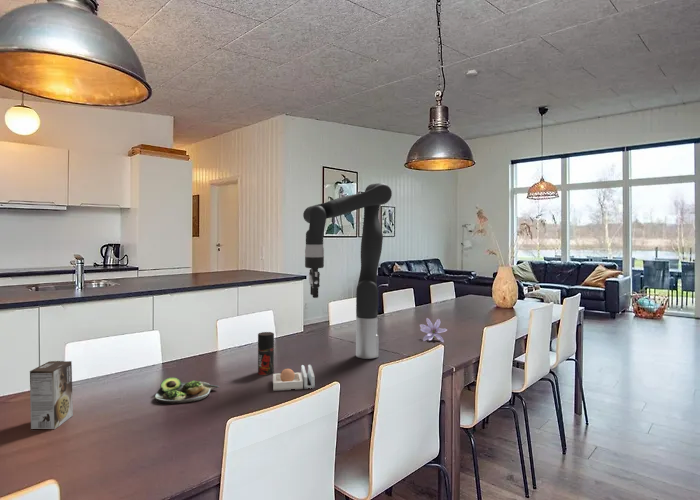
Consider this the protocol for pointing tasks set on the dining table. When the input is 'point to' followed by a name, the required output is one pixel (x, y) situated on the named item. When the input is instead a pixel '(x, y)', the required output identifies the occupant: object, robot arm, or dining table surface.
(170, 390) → the salad plate
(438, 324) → the water lily
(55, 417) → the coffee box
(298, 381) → the dish
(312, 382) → the grey grooved channel
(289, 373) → the ball
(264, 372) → the deodorant
